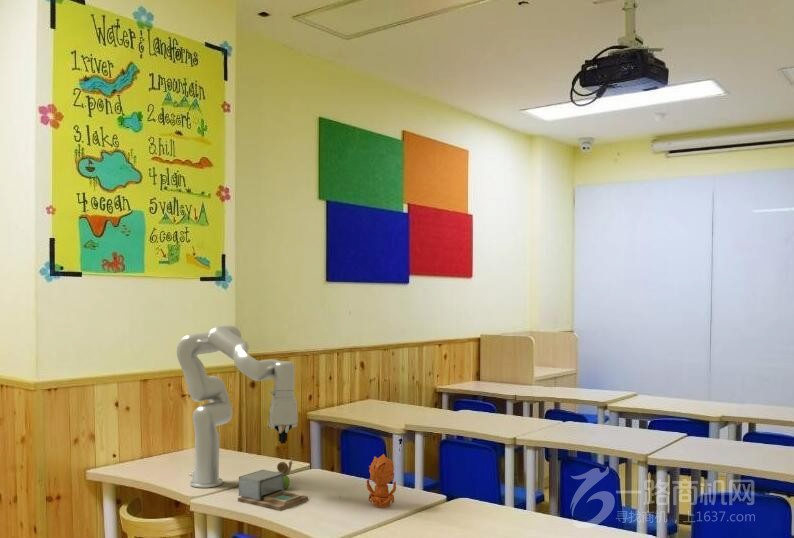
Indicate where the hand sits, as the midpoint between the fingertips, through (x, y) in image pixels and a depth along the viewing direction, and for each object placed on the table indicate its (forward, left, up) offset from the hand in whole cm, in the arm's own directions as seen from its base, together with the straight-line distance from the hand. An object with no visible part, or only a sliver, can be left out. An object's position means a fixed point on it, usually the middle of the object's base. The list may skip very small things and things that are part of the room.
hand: (282, 442), depth 277 cm
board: (+2, -7, -20) cm, 21 cm away
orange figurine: (+38, +11, -20) cm, 44 cm away
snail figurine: (-5, +7, -20) cm, 22 cm away
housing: (-4, -7, -18) cm, 20 cm away
